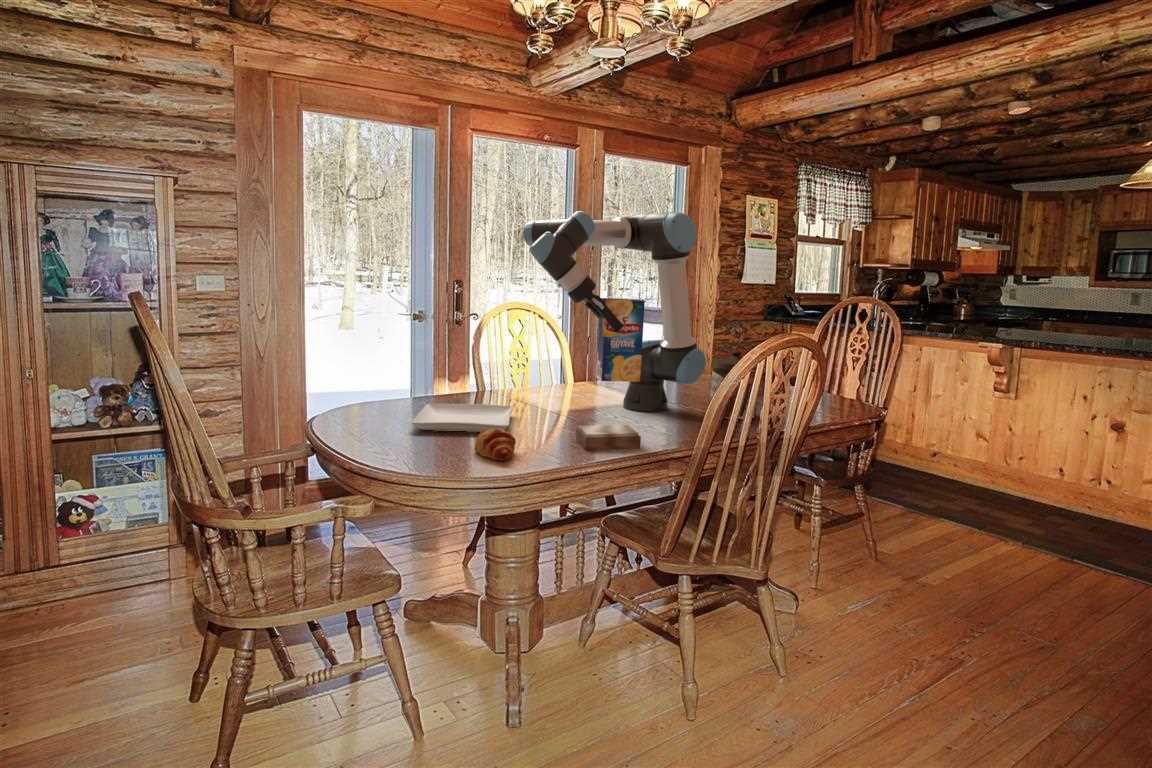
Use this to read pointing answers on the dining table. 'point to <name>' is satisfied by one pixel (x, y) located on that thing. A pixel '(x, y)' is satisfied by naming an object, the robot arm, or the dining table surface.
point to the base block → (608, 437)
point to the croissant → (495, 444)
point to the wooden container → (719, 372)
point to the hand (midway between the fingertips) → (633, 347)
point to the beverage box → (621, 342)
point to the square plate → (463, 417)
